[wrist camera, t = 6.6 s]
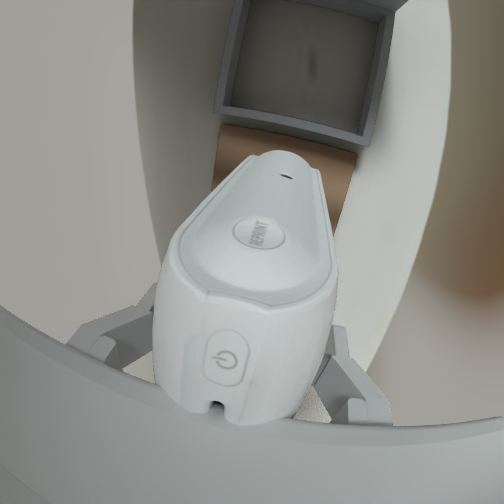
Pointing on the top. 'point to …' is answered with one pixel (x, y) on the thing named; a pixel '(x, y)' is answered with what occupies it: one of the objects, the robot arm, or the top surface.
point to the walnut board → (315, 154)
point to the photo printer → (248, 293)
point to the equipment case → (355, 3)
